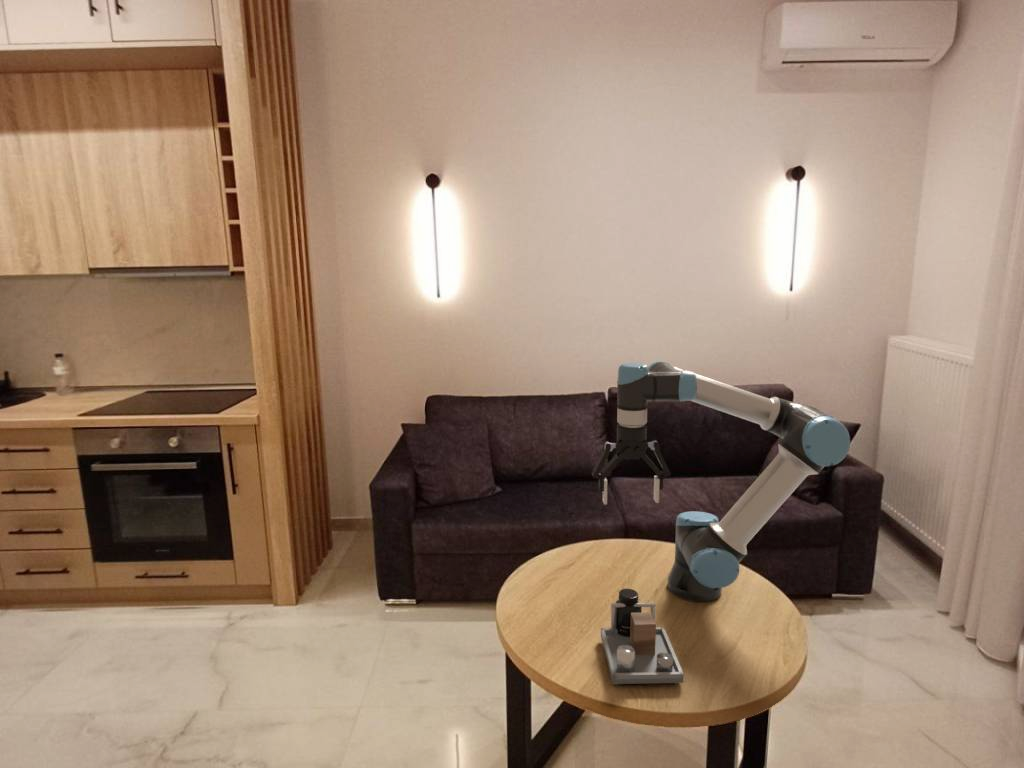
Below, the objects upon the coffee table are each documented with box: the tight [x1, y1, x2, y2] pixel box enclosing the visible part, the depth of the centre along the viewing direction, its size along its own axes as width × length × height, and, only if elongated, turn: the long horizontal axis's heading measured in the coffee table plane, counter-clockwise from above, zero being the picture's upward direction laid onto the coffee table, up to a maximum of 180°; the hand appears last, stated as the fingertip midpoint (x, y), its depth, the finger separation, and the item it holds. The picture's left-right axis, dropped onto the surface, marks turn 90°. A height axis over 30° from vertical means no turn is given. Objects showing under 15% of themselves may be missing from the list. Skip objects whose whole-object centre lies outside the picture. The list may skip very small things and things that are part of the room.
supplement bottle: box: [615, 588, 643, 637], centre depth 156 cm, size 7×7×12 cm
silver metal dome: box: [656, 653, 673, 672], centre depth 141 cm, size 4×4×3 cm
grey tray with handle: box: [600, 602, 685, 686], centre depth 147 cm, size 16×18×10 cm
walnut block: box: [630, 611, 657, 655], centre depth 148 cm, size 5×5×8 cm
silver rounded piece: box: [617, 645, 635, 673], centre depth 141 cm, size 4×4×5 cm
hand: (630, 501), depth 161 cm, fingers open, 13 cm apart
